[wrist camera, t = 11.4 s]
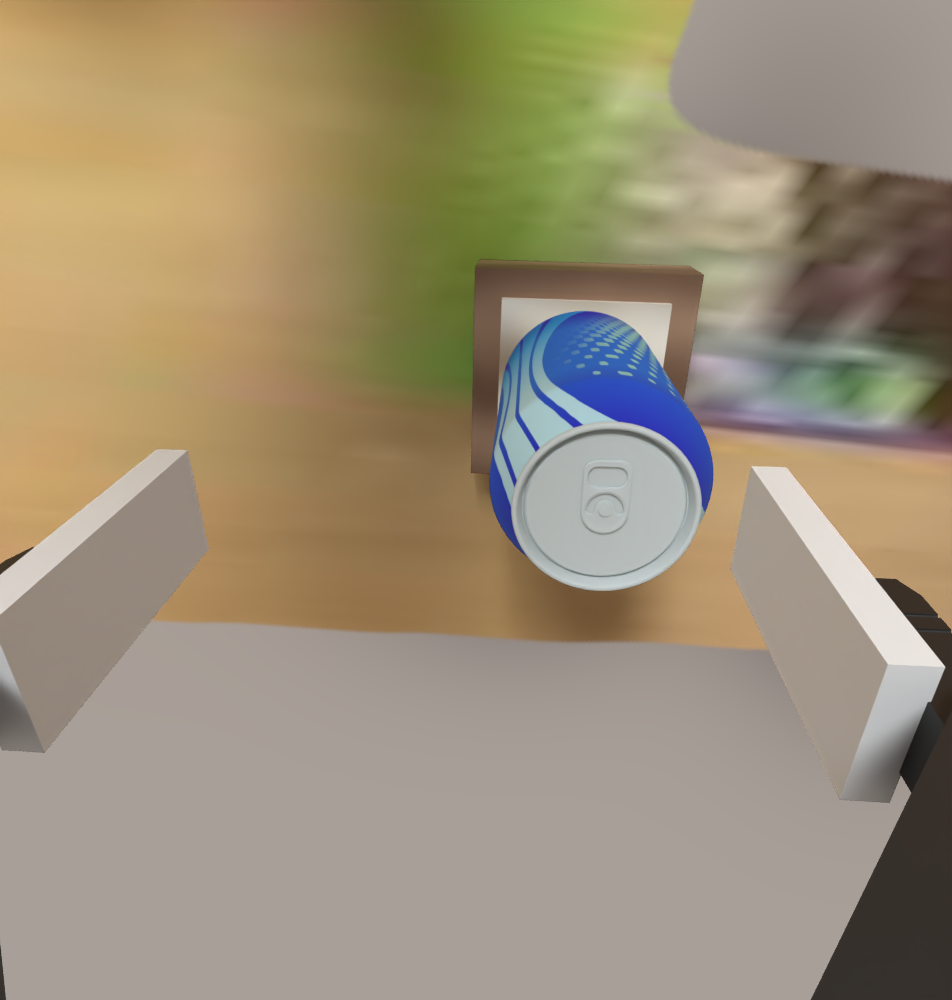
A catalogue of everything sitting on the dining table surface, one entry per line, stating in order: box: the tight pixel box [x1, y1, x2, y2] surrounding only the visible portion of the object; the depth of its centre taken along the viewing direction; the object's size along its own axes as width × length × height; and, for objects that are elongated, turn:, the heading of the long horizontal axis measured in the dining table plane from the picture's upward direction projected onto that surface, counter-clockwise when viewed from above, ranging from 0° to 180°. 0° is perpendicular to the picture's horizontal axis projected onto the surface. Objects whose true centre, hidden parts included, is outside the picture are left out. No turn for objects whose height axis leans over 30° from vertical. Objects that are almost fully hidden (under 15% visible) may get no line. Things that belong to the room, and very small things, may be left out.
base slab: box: [471, 259, 704, 474], centre depth 40 cm, size 12×12×4 cm
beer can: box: [489, 311, 713, 591], centre depth 31 cm, size 8×8×16 cm
